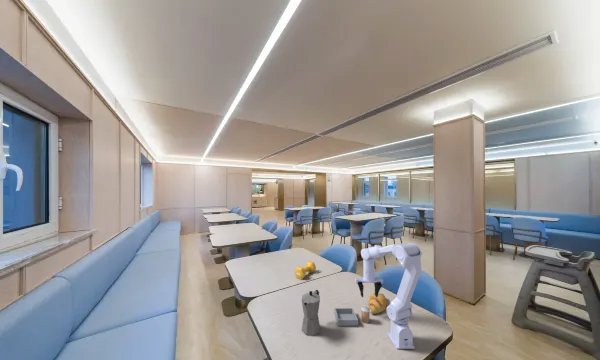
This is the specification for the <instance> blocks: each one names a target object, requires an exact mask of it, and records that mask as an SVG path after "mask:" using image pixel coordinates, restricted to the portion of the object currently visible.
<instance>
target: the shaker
mask: <svg viewBox="0 0 600 360" xmlns="http://www.w3.org/2000/svg"><path fill="white" fill-rule="evenodd" d="M360 310H361V312H360V313H361V317H360V318H361V322H362V323H363V324H366V325H367V324H370V319H371V318H370V317H371V316H370V308H369V307H367V306H362V307H361V308H360Z"/></svg>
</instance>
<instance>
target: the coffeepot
mask: <svg viewBox="0 0 600 360" xmlns="http://www.w3.org/2000/svg"><path fill="white" fill-rule="evenodd" d="M320 303H321V295H320V292H319V290H318V289H315V291H313V290H310V291H308V292H306V293H304V294H302V295H301V304H302V310H303V311H302V312H303V319H302V326H301V331H303V332H304V333H305V336H308V337H309V336H310V337H314V336H317V335H319V333H320V332H321V331H320V330H321V328H320V327H321V325H320V320H319V310H320ZM303 332H302V333H303ZM304 333H303V334H304Z"/></svg>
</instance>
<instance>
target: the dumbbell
mask: <svg viewBox="0 0 600 360" xmlns="http://www.w3.org/2000/svg"><path fill="white" fill-rule="evenodd" d="M304 266H305V267H302V266H297V267H296V268H295V269H294V274H295V277H296V278H297V279H298V280H303V279H304V278H305V277H306V276H307V272H308V273H311V274H313V273H314V272H315V271H316V268H317V267H316V264H315V262H314V261H311V260H309V261H307V262H306V264H305V265H304Z"/></svg>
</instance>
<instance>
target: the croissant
mask: <svg viewBox="0 0 600 360" xmlns="http://www.w3.org/2000/svg"><path fill="white" fill-rule="evenodd" d="M367 301H368V305H369V307H368V308H369V309H370V313H371V314H372V315H375V314H379V313H382V312H384V311H386V310H387V304H388V301H387V298H386V296H385V295H384V293H381V292H380V293H378V297H376V296H375V293H373V294H370V295H369V296H368V299H367Z"/></svg>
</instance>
